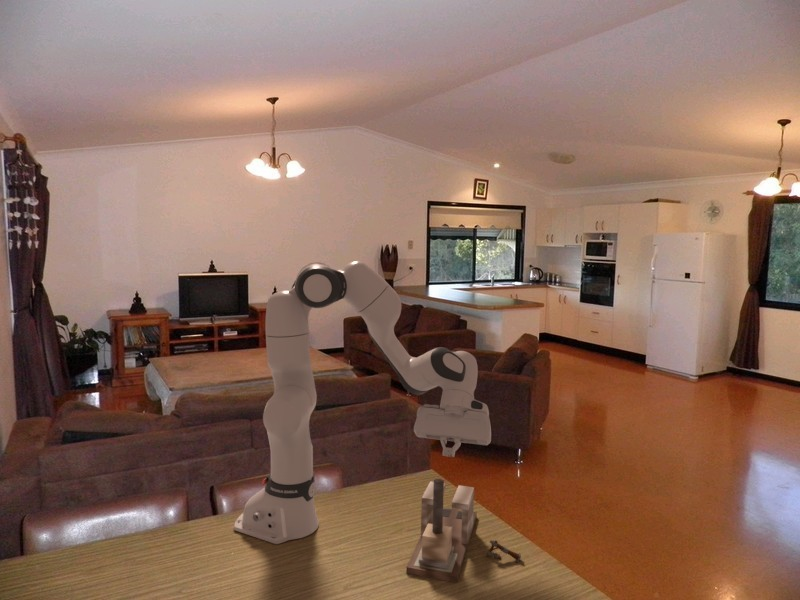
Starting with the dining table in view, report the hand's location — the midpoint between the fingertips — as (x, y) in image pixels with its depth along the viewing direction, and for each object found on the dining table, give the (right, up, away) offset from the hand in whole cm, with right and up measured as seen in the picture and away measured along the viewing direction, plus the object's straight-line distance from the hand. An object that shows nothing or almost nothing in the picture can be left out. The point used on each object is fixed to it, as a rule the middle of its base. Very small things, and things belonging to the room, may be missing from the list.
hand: (448, 455), depth 142 cm
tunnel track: (-1, -23, +2) cm, 23 cm away
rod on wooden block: (-3, -22, -8) cm, 24 cm away
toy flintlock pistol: (+13, -24, -5) cm, 28 cm away
